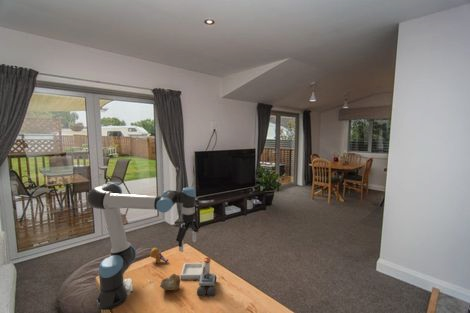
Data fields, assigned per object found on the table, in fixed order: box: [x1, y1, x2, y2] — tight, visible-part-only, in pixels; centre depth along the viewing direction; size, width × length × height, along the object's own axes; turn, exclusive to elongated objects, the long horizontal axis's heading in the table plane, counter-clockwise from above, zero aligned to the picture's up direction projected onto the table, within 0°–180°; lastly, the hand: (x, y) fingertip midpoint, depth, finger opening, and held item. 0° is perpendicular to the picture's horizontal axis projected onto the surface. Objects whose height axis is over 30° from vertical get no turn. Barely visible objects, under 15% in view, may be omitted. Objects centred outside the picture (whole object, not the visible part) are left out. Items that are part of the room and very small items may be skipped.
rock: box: [159, 273, 181, 291], centre depth 135 cm, size 12×10×10 cm
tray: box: [179, 262, 205, 281], centre depth 152 cm, size 14×14×3 cm
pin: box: [203, 257, 211, 279], centre depth 136 cm, size 4×4×12 cm
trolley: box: [196, 273, 217, 298], centre depth 137 cm, size 11×14×8 cm
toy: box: [149, 247, 169, 265], centre depth 164 cm, size 14×8×15 cm
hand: (187, 246), depth 138 cm, fingers open, 13 cm apart
